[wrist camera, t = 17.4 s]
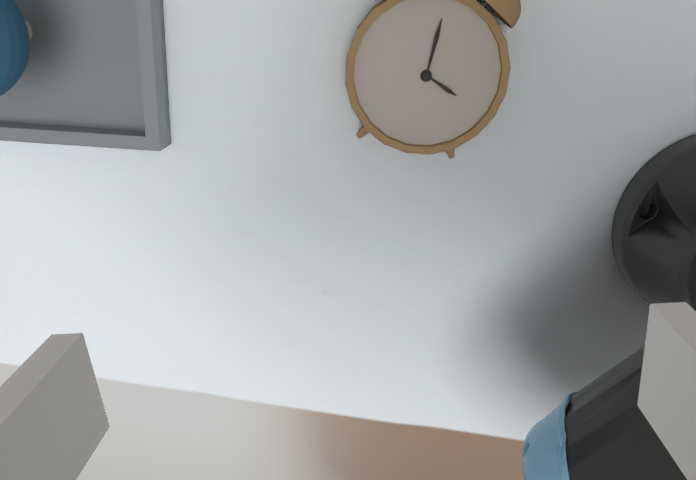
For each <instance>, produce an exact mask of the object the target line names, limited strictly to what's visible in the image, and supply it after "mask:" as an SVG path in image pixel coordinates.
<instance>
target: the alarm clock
mask: <svg viewBox="0 0 696 480" xmlns="http://www.w3.org/2000/svg"><path fill="white" fill-rule="evenodd" d="M488 4H489V5H490V6H491V7H493V8H494V9H493V11H492V13H494V14H495V15H496V16H497V17H498V18H499V19H500V20H501V21H503V22H504V23H505V24H506V25H507V26H509V27H510V28H513V26H514V25H515V24H516V22H517V20H518V19H519V16H520V11H521V4H520V0H485V1H483V2H482V3H481V4H480V3H479V2H478V1H477V0H382V1H381V2H379V3H378V4H377V5H375V6H374V7H373V8H372V9H371V11H370V12H369V13H368V15H367V16H366V17H365V18H364V20H363V21H362V22H361V24H360V25H359V26H358V28H357V31H356V33H355V36H354V39H353V42H352V44H351V47H350V50H349V53H348V55H347V62H346V82H345V84H346V88H347V91H348V95H349V99H350V103H351V106H352V109H353V110H354V112H355V114H356V115H357V117H358V118H359V120H360V121H361V123H362V125H363V127H362V128H361V129H360V130H359V132H358V133H357V134H356V135H357V137H358V138H361V137H363V136H364V135H366V134H367V133H368V132H370V133H371V134H372V135H374V136H375V137H376V138H377V139H378V140H380V141H381V142H382V143H383V144H385V145H388V146H390V147H393V148H396V149H398V150H401V151H403V152H406V153H419V154H434V153H438V152H442V151H446V153H447V154H448V156H449V158H450V159H451V158H454V148H456V147H458V146H460V145H461V144H463V143H465V142H467V141H468V140H470V139H472V138H473V137H475V136H477V135H478V133H479V132H480V131H481V130H482V129H483V128H484V127H485V126H486V125H487V124H488V123H489V122H490V121H491V120H492V119H493V118H494V116H495V114H496V112H497V110H498V108H499V106H500V104H501V102H502V100H503V98H504V96H505V94H506V90H507V84H508V78H509V72H510V62H509V55H508V48H507V41H506V39H505V37H504V35H503V33H502V31H501V29H500V27H499V25H498V23H497V21H496V19H495V18H494V17H493V16H492V15H491V14H490V13H489V12H488V11H487V10H486V9H485V8H484V7H486V6H487V5H488Z"/></svg>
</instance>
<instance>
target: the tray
mask: <svg viewBox="0 0 696 480" xmlns="http://www.w3.org/2000/svg"><path fill="white" fill-rule="evenodd" d="M14 1H15V2H16V4H17V6H18V7H19V9H20V11H21V13H22V15H23V16H24V19H25V20H26V21H28V23H29V24H30V26H31V28H32V38H31V39H30V54H29V58H28V63H27V66H26V68H25V71H24V73H23V75H22V76H21V78H20V79H19V80H18V81H17V83H16V84H15V85H14V86H13V87H12V88H11V89H10V90H8V91H7V92H6V93H5V94H3V95H1V96H0V140H3V141H18V142H32V143H47V144H62V145H77V146H92V147H107V148H122V149H137V150H152V151H161V150H162V149H164V148H165V147H167V146H168V145H170V144H171V139H170V122H169V104H168V87H167V69H166V52H165V34H164V17H163V0H14Z"/></svg>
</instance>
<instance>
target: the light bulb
mask: <svg viewBox="0 0 696 480" xmlns="http://www.w3.org/2000/svg"><path fill="white" fill-rule="evenodd" d="M31 38H32V28H31V26H30V24H29V23H28V21H26V20H25V19H24V16H23V15H22V13H21V11H20V9H19V7H18V6H17V4H16V2H15V1H14V0H0V96H1V95H3V94H5V93H6V92H7V91H8V90H10V89H11V88H12V87H13V86H14V85H15V84H16V83H17V81H18V80H19V79H20V78H21V76H22V75H23V73H24V71H25V68H26V66H27V63H28V58H29V54H30V39H31Z"/></svg>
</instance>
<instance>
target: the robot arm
mask: <svg viewBox="0 0 696 480" xmlns="http://www.w3.org/2000/svg"><path fill="white" fill-rule="evenodd" d="M612 246H613V252H614V256H615V260H616V262H617V265H618V267H619V269H620V271H621V273H622V274H623V276H624V277H625V279H626V280H627V281H628V282H629V283H630V284H631V286H632V287H633V288H634V289H635V290H636V291H637V292H638V293H639V294H640V295H641V296H642V297H643V298H644V299H645V300H647V301H648V302H649V303H651V304H650V309H649V316H648V324H647V332H646V340H645V345H644V346H643V347H642V348H640V349H639V350H637V351H636V352H635V353H633V354H632V355H630V356H629V357H627V358H626V359H625V360H623V361H622V362H620V363H619V364H618V365H616V366H615V367H613V368H612V369H610V370H609V371H608V372H606V373H605V374H603V375H602V376H601V377H599V378H598V379H596V380H595V381H593V382H592V383H590V384H589V385H587V386H586V387H585V388H583V389H582V390H580V391H579V392H573V393H571V394H569V395H568V396H567V397H565V399H564V400H563V402H562V404H561V405H560V406H558V407H557V408H556V409H555V410H554V411H552V412H551V413H550V414H549V415H547V416H546V417H545V418H544V419H542V420H541V421H540V422H538V423H537V424H536V425H535V426H534V427H533V428H532V429H531V430H530V431H529V433H528V435H527V437H526V439H525V442H524V447H523V452H522V456H523V463H522V469H523V476H524V480H696V135H694V136H691V137H688V138H686V139H684V140H681V141H679V142H677V143H675V144H674V145H672V146H670V147H668V148H667V149H665V150H664V151H662V152H661V153H659V154H658V155H657V156H655V157H654V158H653V159H652V160H651V161H650V162H648V163H647V164H646V165H645V166H644V167H643V168H642V169H641V170H640V171H639V173H638V174H637V175H636V176H635V177H634V179H633V180H632V181H631V183H630V184H629V186H628V187H627V189H626V190H625V192H624V194H623V196H622V198H621V200H620V202H619V205H618V207H617V210H616V213H615V217H614V221H613V227H612ZM108 428H109V423H108V419H107V416H106V412H105V409H104V406H103V402H102V399H101V395H100V392H99V388H98V385H97V381H96V378H95V374H94V371H93V367H92V364H91V361H90V357H89V354H88V350H87V347H86V343H85V340H84V336H83V333H76V334H56V335H51V336H50V337H49V338H48V339H47V340H46V341H45V342H44V343H43V344H42V345H41V346H40V347H39V348H38V349H37V350H36V351H35V352H34V353H33V354H32V355H31V356H30V357H29V358H28V359H27V360H26V361H25V362H24V363H23V364H22V365H21V366H20V367H19V368H18V369H17V371H15V373H14V374H13V375H12V376H11V377H10V378H9V379H8V380H7V381H6V382H5V383H4V384H3V385H2V386H1V387H0V480H76V479H77V477H78V476H79V474H80V472H81V471H82V469H83V468H84V466H85V465H86V463H87V462H88V460H89V458H90V457H91V455H92V453H93V452H94V450H95V449H96V447H97V446H98V444H99V442H100V441H101V439H102V438H103V436H104V435H105V433H106V431H107V430H108Z"/></svg>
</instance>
